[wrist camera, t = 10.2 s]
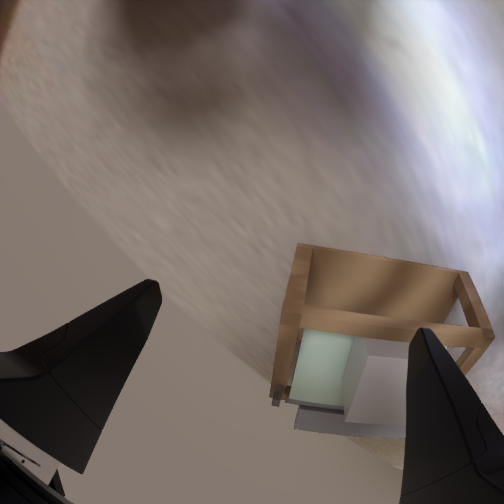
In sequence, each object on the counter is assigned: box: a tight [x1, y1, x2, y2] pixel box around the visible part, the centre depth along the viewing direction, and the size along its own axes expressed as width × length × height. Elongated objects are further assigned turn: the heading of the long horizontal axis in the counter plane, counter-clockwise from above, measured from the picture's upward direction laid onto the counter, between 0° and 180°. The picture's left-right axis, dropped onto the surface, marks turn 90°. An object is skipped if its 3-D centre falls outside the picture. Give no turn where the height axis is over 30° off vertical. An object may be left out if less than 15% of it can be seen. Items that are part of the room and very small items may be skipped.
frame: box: [269, 243, 495, 407], centre depth 21 cm, size 15×11×9 cm
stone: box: [342, 336, 410, 425], centre depth 17 cm, size 5×5×5 cm
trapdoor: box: [285, 328, 448, 438], centre depth 20 cm, size 12×10×1 cm
